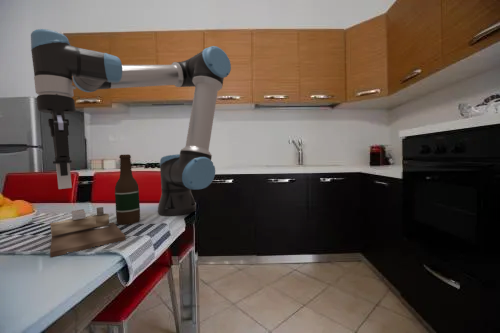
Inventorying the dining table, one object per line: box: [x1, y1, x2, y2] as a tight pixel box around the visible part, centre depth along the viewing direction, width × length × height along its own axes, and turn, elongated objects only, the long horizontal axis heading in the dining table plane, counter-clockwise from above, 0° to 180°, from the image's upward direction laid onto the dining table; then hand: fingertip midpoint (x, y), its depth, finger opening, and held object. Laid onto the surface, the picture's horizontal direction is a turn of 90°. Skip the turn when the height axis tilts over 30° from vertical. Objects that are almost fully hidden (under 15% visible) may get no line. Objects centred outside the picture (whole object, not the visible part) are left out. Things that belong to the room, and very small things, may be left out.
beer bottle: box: [114, 154, 141, 226], centre depth 84 cm, size 8×8×24 cm
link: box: [49, 206, 110, 237], centre depth 71 cm, size 14×4×5 cm, turn 135°
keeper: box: [71, 209, 110, 230], centre depth 74 cm, size 10×7×6 cm
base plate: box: [49, 221, 126, 258], centre depth 68 cm, size 16×19×1 cm
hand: (65, 188), depth 62 cm, fingers closed
